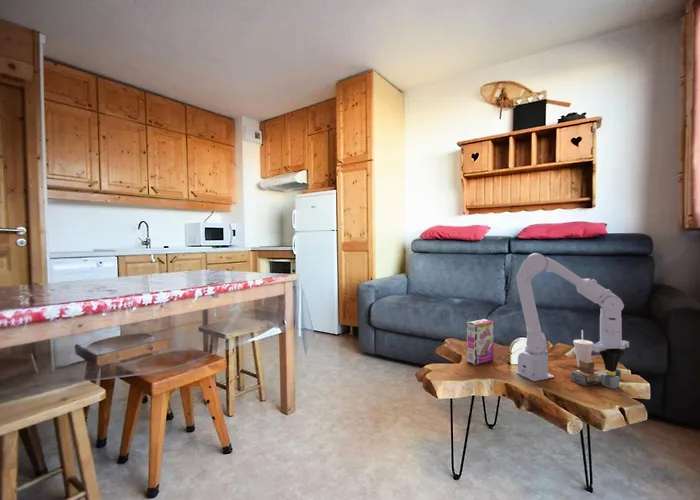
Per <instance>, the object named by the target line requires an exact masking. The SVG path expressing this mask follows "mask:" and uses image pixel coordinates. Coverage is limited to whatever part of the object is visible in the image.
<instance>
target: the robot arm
mask: <svg viewBox="0 0 700 500" xmlns="http://www.w3.org/2000/svg"><path fill="white" fill-rule="evenodd" d="M542 271H544V272H545V273H555V274H556V275H558V276H559V277H561V278H563V279H564V280H565V281H567V282H569V283H570V284H572V285H574V286H575V287H576V291H577V293H579V294H580V295H582V296H584V298H586V299H588V300H590V301H591V302H593V303H594V304H598V306H599V307H600V311H599V312H600V315H599V341H598V342H596V343H593V345H592V352H595V353H599V355H600V356H601V359H602V360H603V363H604V368H605V367H606V370H608V371H611V372H615V371H616V369H618V364H619V361H620V360H621V358H622V357H623V355H624V354H625V352H624V350H625V349H626V348H629V347H630V341H629V340H628V341H627V340H624V339H623V337H622V336H623V335H622V327H623V326H622V325H623V324H622V322H623V321H622V319H623V318H622V311H623V309H624V307H625V304H624V302H623V301H622V298H621V297H619V296H618V295H616V294H615V293H614V292H612V290H610V289H609V288H607V289H606V288H605V287H603V286H602V285H601V284H599V283H598V281H597V280H596V279H594V278H593V279H591V278H590V277H589V278H581V277H580V276H578V275H577V274H575V273H574V272H573V271H571V270H570V269H568V268H567V267H565V266H564V265H562V264H561V263H559V262H558V261H556V260H554V259H552V258H549V257H548V256H544V255H543V254H542V253H539V252H533V253H531V254H528V256H527V257H526V258H525V259H524V260H523V262H522V263H521V266H520V267H519V270H518V272H517V273H516V275H515V282H516V286H517V290H518V294H519V295H518V296H519V299H520V305H521V309H522V313H523V318H524V322H525V327H526V346H525V348H524V351H523V352H520V353H519V354H518V357H517V371H516V374H517V375H519V376H521V377H524V378H526V379H529V380H530V381H532V382H536V381H540V380H541V381H542V380H548V379H551V378H554V377H555V376H554V375H553V374H550V373H549V351H548V349H547V347H548V343H547V337H546V335H545V333H544V332H543V331H542V327H541V324H540V320H539V314H538V310H537V305H536V300H535V297H534V292H533V288H532V287H533V286H532V283H531V281H532V280H533V278H534V277H535V276H536V275H537V274H539V273H541V272H542ZM622 339H623V340H622Z"/></svg>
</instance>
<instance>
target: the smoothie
mask: <svg viewBox="0 0 700 500" xmlns="http://www.w3.org/2000/svg"><path fill="white" fill-rule="evenodd" d="M580 336H581V339H574V340H573V345H574V351H575V357H576V365H577V367H578V368H579V360H584V359H587V360H590V361H591V360H592V359H591V358H592V353H593V351H592V345H594V342H593V341H590V340H587V339H584V330H583V329H581V335H580Z"/></svg>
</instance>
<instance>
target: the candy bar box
mask: <svg viewBox="0 0 700 500" xmlns="http://www.w3.org/2000/svg"><path fill="white" fill-rule="evenodd" d="M494 323H495V322H494V321H493V320H490V319H486V318H482V319H478V320H472V321H467V322H466V363H469V364H471V365H474V366H479V365H481V364H485V363H488V362H492V361H494V334H495V331H494V329H495V327H494Z"/></svg>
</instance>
